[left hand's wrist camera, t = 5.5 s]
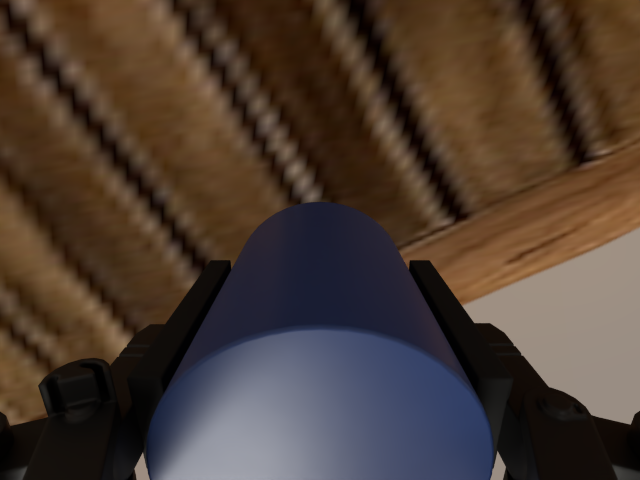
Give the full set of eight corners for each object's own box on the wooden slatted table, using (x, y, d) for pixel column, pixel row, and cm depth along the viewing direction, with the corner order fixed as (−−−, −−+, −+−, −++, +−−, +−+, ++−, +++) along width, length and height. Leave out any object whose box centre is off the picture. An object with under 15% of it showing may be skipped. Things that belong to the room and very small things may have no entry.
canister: (346, 373, 17) (370, 614, 9) (210, 307, 16) (96, 517, 8) (435, 254, 15) (572, 427, 7) (286, 168, 14) (239, 255, 6)
